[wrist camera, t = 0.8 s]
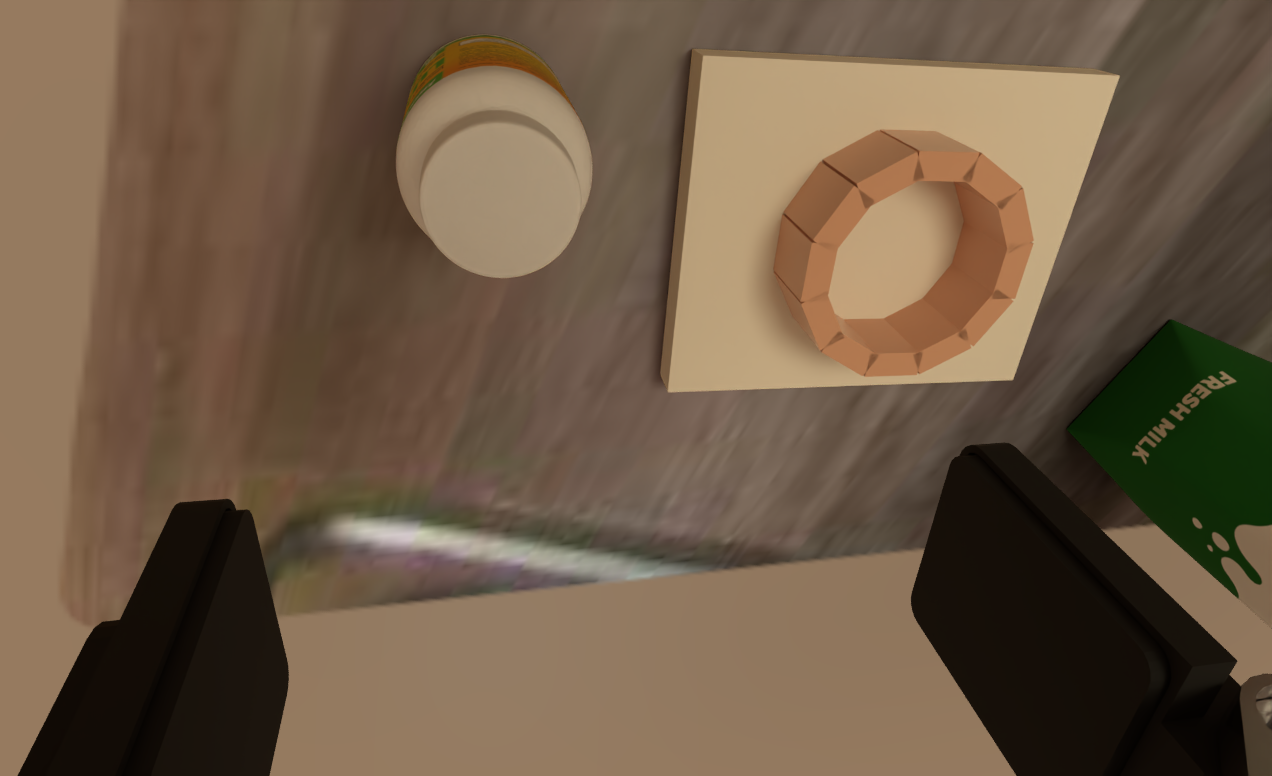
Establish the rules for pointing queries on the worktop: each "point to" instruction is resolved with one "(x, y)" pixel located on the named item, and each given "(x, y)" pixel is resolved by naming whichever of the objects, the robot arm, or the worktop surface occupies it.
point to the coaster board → (889, 231)
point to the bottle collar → (960, 295)
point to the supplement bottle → (493, 157)
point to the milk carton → (1195, 452)
